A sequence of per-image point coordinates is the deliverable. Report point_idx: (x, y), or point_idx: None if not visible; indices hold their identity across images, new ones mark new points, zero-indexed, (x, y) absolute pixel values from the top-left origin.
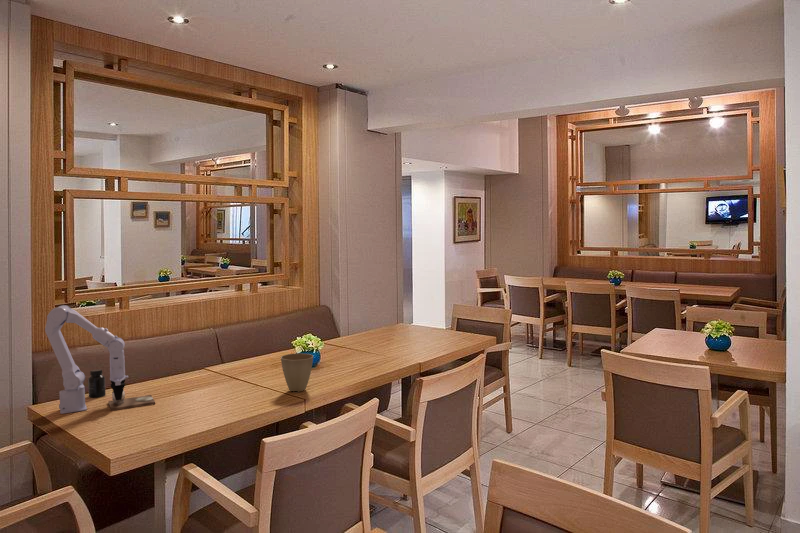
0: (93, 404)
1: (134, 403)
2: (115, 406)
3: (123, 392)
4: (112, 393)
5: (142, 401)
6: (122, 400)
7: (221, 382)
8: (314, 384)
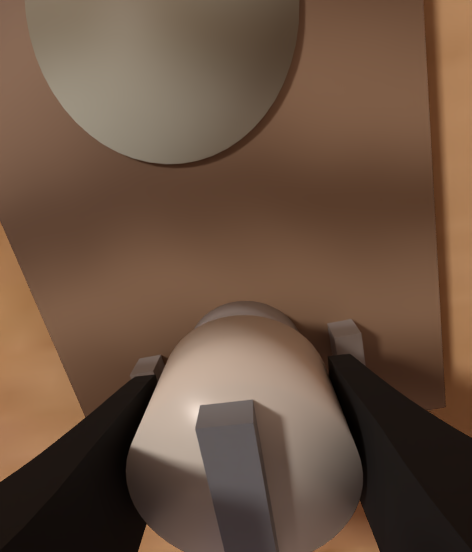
0: None
1: (345, 157)
2: (379, 373)
3: (305, 389)
4: (291, 548)
5: (297, 34)
6: None
7: None
8: None
